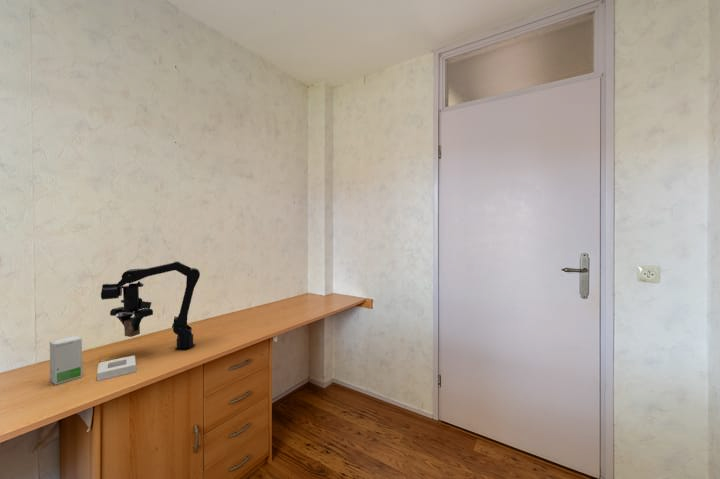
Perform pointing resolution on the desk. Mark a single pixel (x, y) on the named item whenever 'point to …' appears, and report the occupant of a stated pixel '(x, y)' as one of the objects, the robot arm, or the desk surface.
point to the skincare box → (65, 359)
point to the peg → (130, 329)
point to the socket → (116, 368)
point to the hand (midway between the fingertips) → (132, 330)
